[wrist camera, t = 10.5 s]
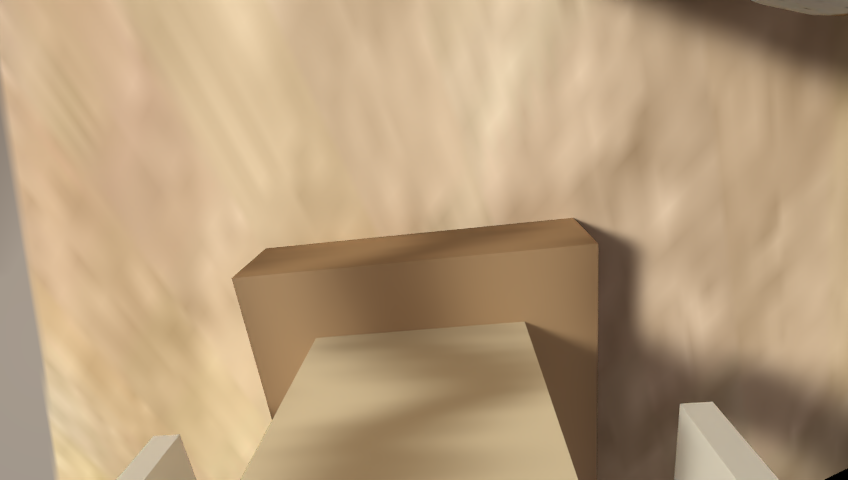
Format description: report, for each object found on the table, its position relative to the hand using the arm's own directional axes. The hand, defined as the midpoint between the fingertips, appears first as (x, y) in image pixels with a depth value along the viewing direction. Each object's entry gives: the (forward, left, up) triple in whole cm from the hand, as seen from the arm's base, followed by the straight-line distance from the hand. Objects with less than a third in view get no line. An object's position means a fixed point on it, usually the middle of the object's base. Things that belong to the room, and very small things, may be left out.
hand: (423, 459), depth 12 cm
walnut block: (0, 0, -5) cm, 5 cm away
